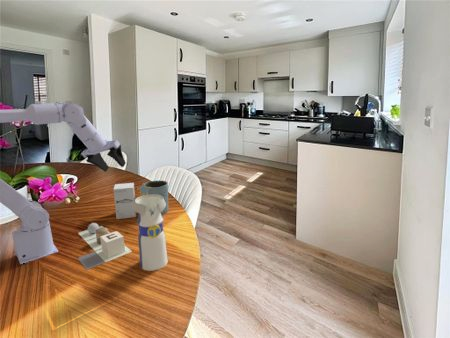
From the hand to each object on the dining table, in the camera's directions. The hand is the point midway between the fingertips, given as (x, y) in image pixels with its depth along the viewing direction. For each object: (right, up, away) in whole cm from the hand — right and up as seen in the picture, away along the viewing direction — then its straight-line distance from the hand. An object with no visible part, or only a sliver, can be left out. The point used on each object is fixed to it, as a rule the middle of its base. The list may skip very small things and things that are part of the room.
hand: (115, 167), depth 95 cm
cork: (-1, -24, -7) cm, 25 cm away
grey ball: (-7, -23, -1) cm, 24 cm away
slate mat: (0, -27, -17) cm, 32 cm away
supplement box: (-1, -20, +14) cm, 24 cm away
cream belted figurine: (+19, -28, -19) cm, 38 cm away
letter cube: (+5, -26, -13) cm, 29 cm away
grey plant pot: (+10, -18, +18) cm, 28 cm away
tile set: (-1, -25, -7) cm, 26 cm away
